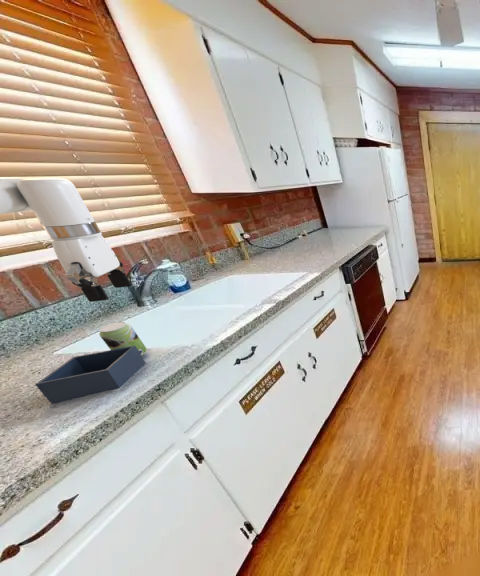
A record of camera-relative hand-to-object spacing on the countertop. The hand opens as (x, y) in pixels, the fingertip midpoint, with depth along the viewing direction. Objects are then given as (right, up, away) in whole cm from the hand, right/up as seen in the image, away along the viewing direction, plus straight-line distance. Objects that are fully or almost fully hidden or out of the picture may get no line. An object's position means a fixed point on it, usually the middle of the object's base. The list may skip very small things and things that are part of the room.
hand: (112, 293), depth 80 cm
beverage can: (-10, -21, +13) cm, 27 cm away
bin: (-6, -25, +3) cm, 26 cm away
